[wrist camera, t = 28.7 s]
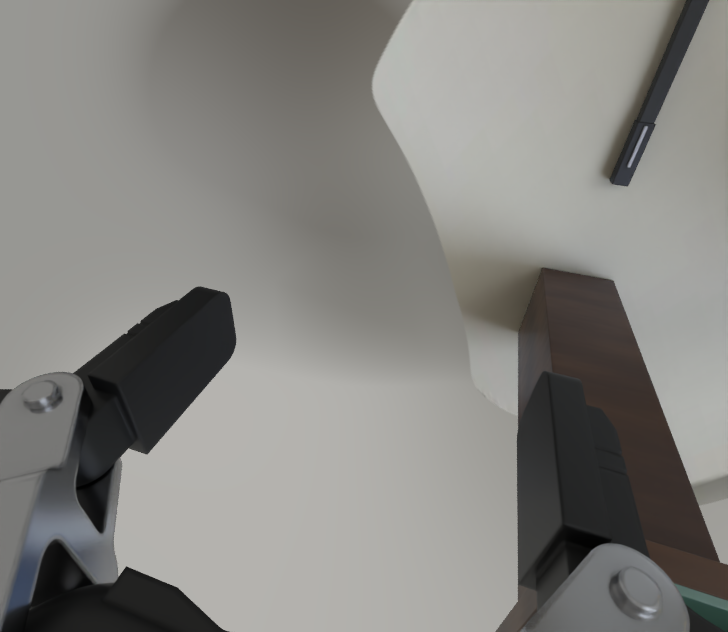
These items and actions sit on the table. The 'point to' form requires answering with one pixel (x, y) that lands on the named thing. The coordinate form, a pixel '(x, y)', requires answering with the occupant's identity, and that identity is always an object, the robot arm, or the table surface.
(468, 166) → the table surface
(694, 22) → the pen
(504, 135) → the table surface
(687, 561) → the stand
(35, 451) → the robot arm
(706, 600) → the grey-green hollow box
